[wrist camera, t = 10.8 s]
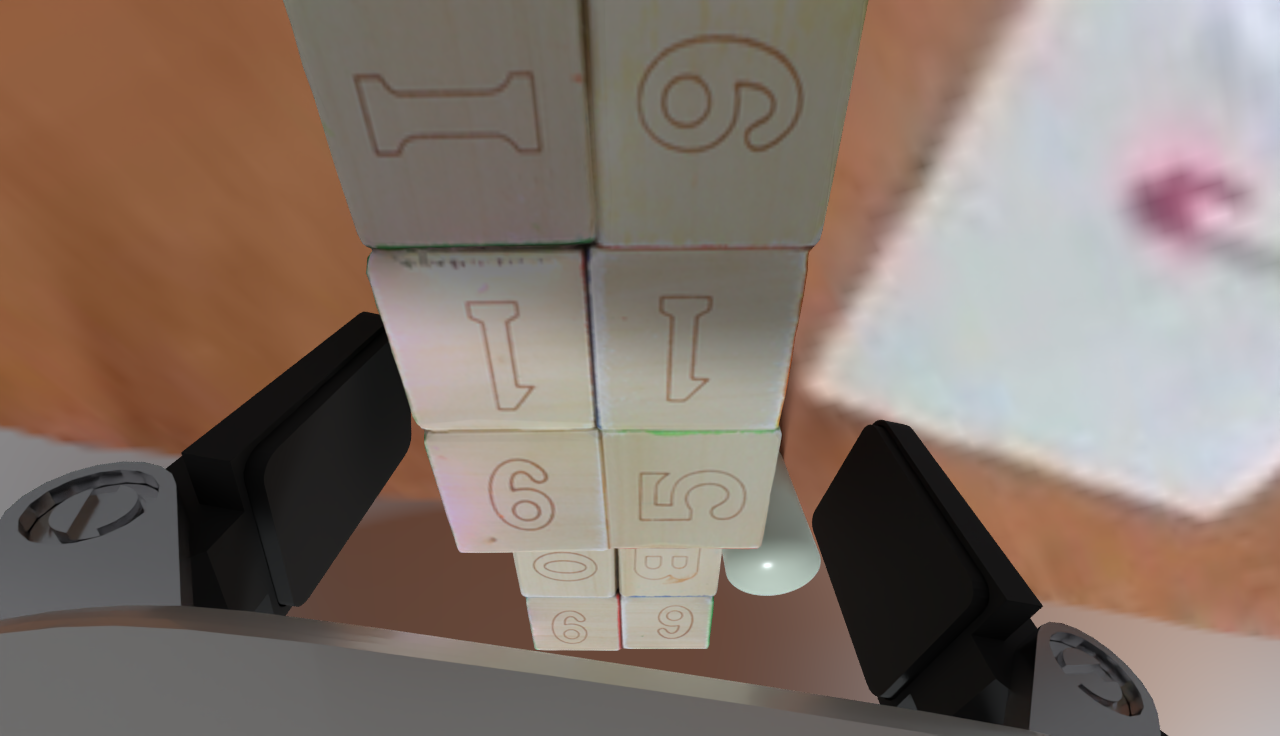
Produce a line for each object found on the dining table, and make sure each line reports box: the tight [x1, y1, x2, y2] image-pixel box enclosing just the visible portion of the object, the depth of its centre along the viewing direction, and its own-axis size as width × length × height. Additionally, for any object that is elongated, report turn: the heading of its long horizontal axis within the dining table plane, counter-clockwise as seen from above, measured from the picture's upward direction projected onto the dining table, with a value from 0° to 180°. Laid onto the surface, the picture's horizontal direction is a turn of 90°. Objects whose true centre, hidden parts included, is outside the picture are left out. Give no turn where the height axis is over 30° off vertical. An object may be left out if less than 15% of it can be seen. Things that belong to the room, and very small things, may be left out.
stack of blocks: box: [283, 0, 868, 651], centre depth 14 cm, size 21×6×12 cm, turn 0°
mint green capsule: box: [722, 452, 821, 596], centre depth 23 cm, size 4×4×6 cm
